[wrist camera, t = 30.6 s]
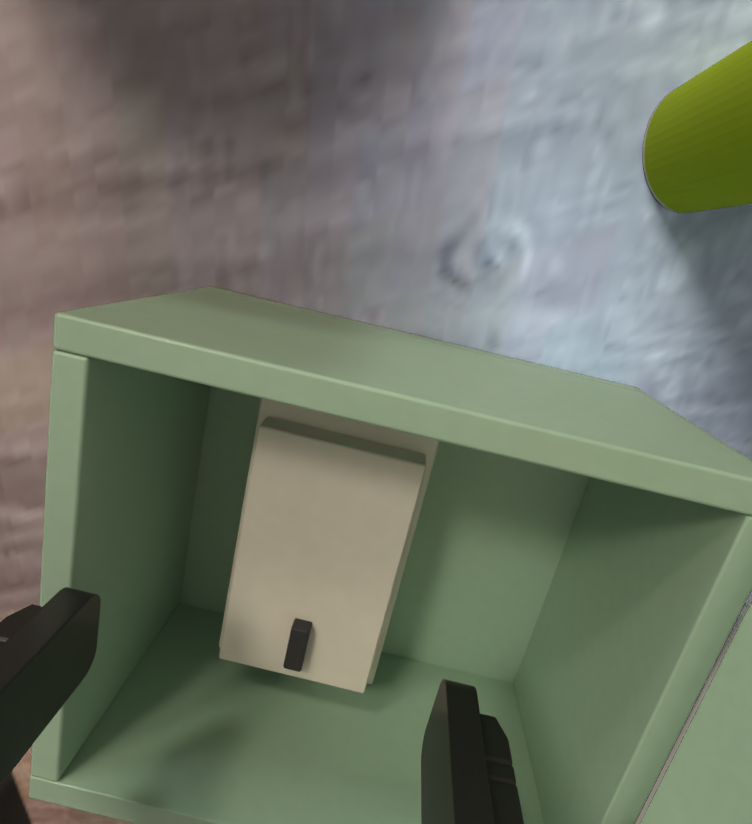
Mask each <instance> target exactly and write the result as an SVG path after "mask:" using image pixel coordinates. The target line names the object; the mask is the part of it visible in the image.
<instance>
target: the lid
mask: <svg viewBox="0 0 752 824" xmlns="http://www.w3.org/2000/svg"><path fill="white" fill-rule="evenodd" d="M640 824H752V602H751V604H750V606H749V608H748V610H747V612H746V614H745V616H744V618H743V620H742V622H741V624H740V626H739V628H738V630H737V632H736V634H735V636H734V638H733V640H732V642H731V644H730V646H729V648H728V650H727V651H726V653H725V655H724V657H723V659H722V661H721V663H720V665H719V667H718V669H717V671H716V673H715V675H714V677H713V679H712V681H711V683H710V685H709V687H708V689H707V691H706V693H705V695H704V697H703V699H702V701H701V703H700V705H699V707H698V709H697V711H696V713H695V715H694V717H693V719H692V721H691V723H690V725H689V727H688V729H687V731H686V733H685V735H684V737H683V739H682V741H681V743H680V745H679V747H678V749H677V751H676V753H675V755H674V757H673V759H672V761H671V763H670V765H669V767H668V769H667V771H666V773H665V775H664V777H663V779H662V781H661V783H660V785H659V787H658V789H657V791H656V793H655V795H654V797H653V799H652V801H651V803H650V805H649V807H648V809H647V811H646V813H645V815H644V817H643V818H642V820H641V822H640Z"/></svg>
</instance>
